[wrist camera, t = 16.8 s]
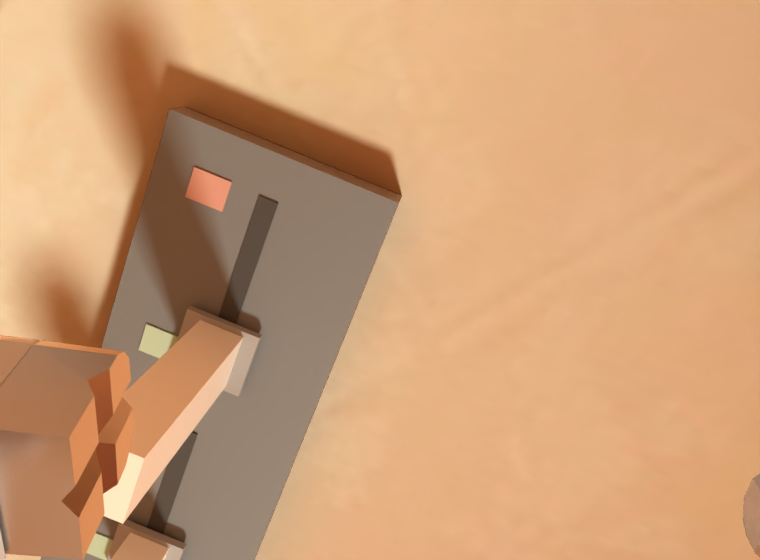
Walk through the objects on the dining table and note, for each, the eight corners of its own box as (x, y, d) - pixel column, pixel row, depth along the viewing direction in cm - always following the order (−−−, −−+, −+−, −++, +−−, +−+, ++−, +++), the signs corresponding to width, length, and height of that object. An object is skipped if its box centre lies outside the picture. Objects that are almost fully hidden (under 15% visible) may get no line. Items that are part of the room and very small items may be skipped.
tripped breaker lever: (190, 305, 38) (62, 417, 26) (262, 334, 38) (167, 460, 26) (172, 364, 39) (41, 497, 27) (241, 392, 39) (140, 538, 27)
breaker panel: (184, 106, 37) (168, 109, 35) (401, 195, 37) (398, 203, 35) (57, 542, 46) (38, 564, 44) (232, 614, 46) (221, 639, 44)
